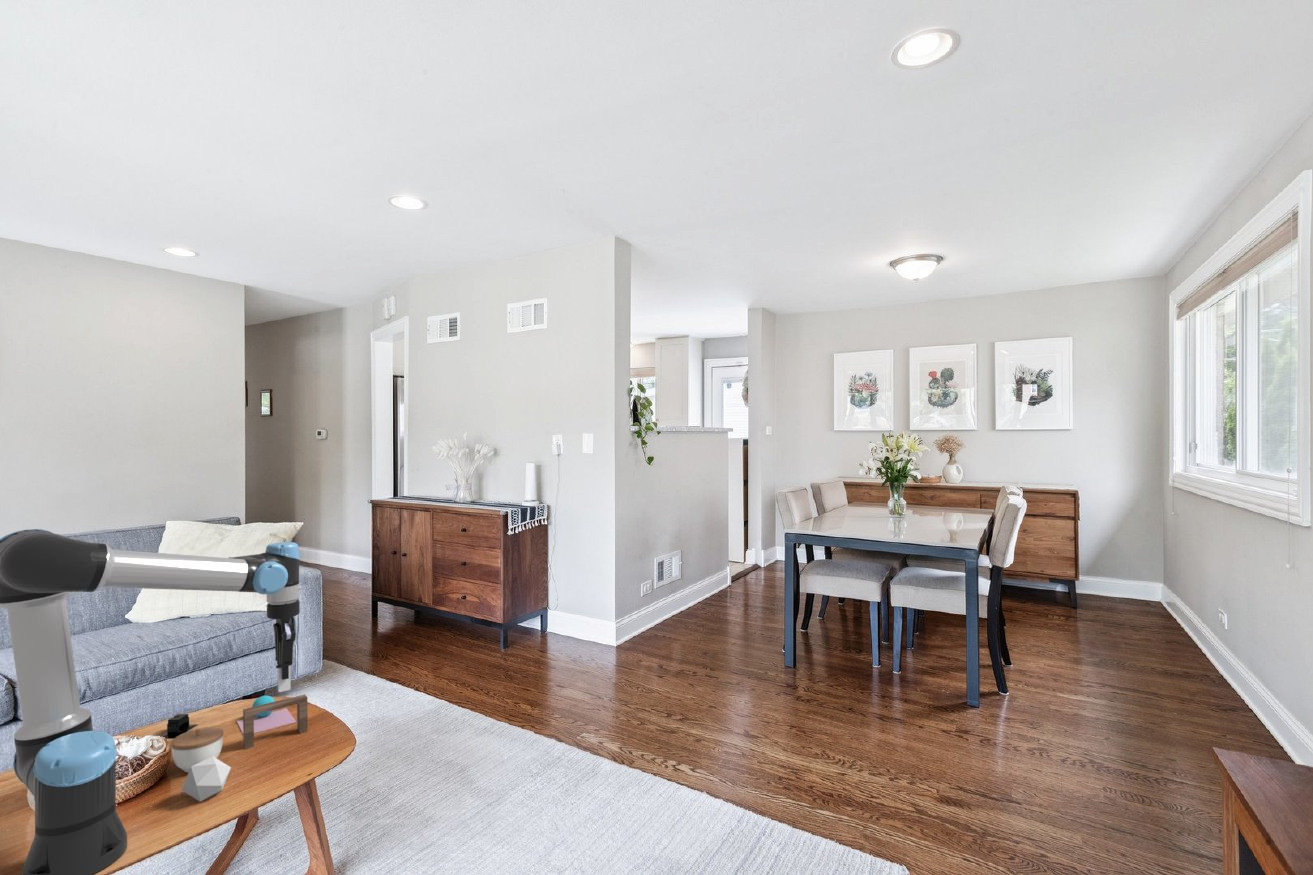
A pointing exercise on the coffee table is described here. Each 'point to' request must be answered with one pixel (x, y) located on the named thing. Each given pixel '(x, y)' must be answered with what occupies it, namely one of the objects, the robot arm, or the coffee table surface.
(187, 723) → the black block on base
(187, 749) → the lidded jar
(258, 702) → the ball
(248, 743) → the bridge
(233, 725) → the coffee table surface
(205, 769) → the die
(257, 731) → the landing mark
